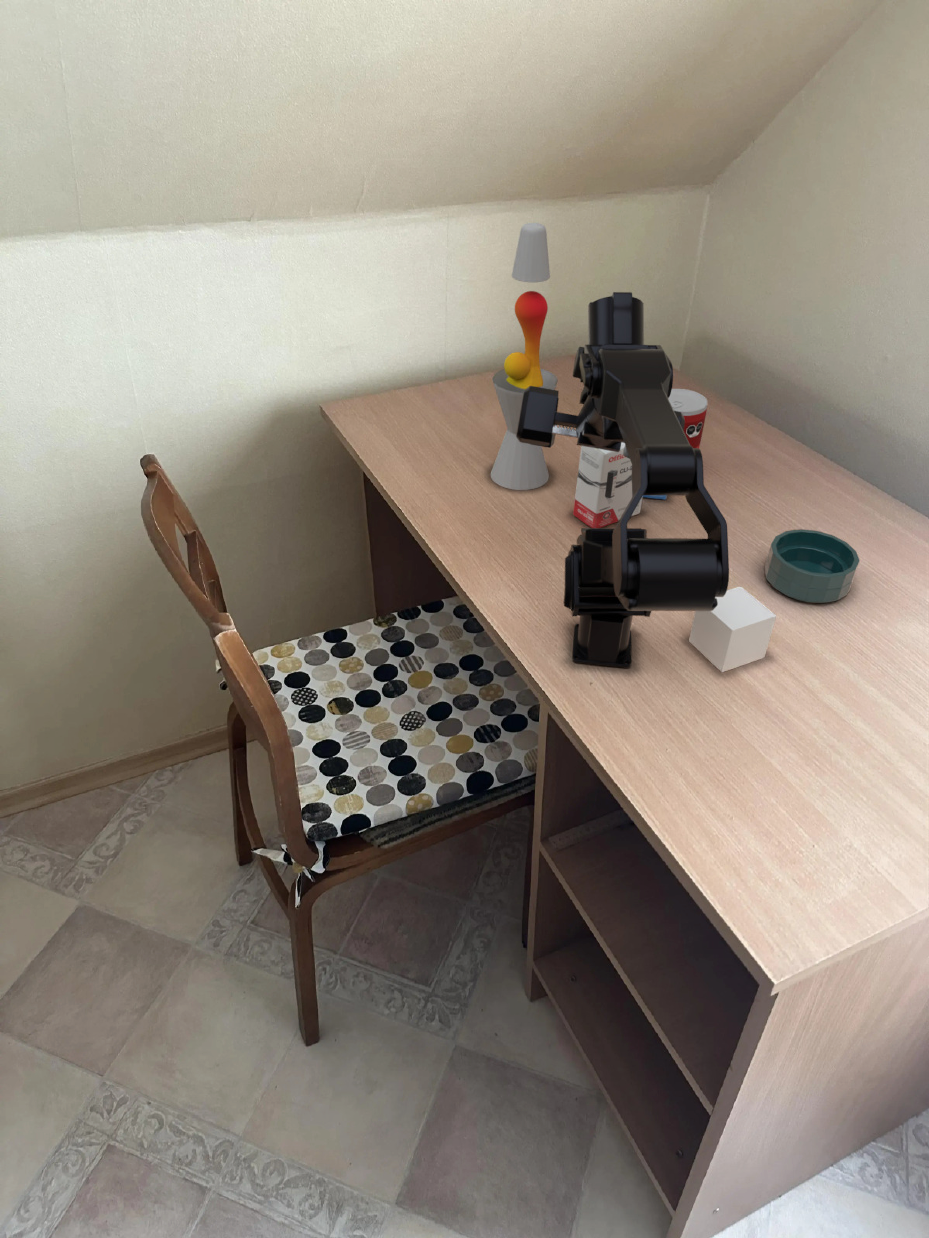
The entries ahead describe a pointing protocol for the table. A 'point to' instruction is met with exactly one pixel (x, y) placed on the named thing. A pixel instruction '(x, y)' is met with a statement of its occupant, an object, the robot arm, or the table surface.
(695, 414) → the canned food
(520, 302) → the lava lamp
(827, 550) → the bowl
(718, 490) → the table surface
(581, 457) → the ink box
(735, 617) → the white cube
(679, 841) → the table surface
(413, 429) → the table surface
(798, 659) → the table surface
